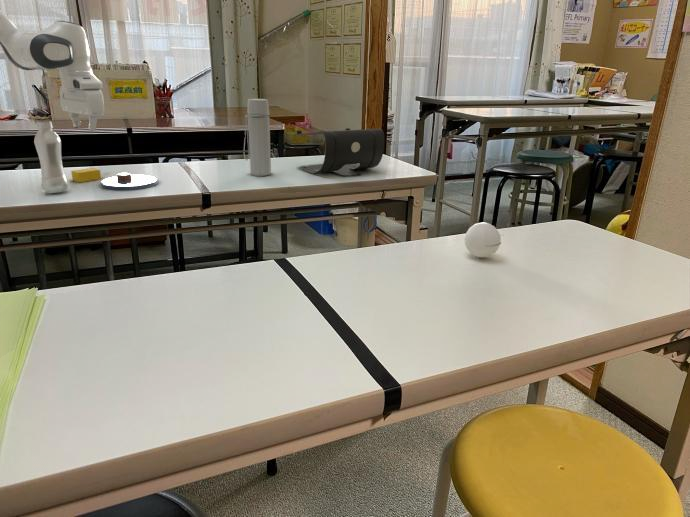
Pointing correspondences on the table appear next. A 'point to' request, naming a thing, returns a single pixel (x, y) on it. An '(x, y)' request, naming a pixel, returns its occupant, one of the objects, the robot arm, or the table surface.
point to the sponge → (86, 175)
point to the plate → (129, 183)
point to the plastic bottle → (50, 158)
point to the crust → (123, 176)
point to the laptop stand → (349, 151)
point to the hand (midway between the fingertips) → (85, 129)
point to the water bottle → (258, 137)
